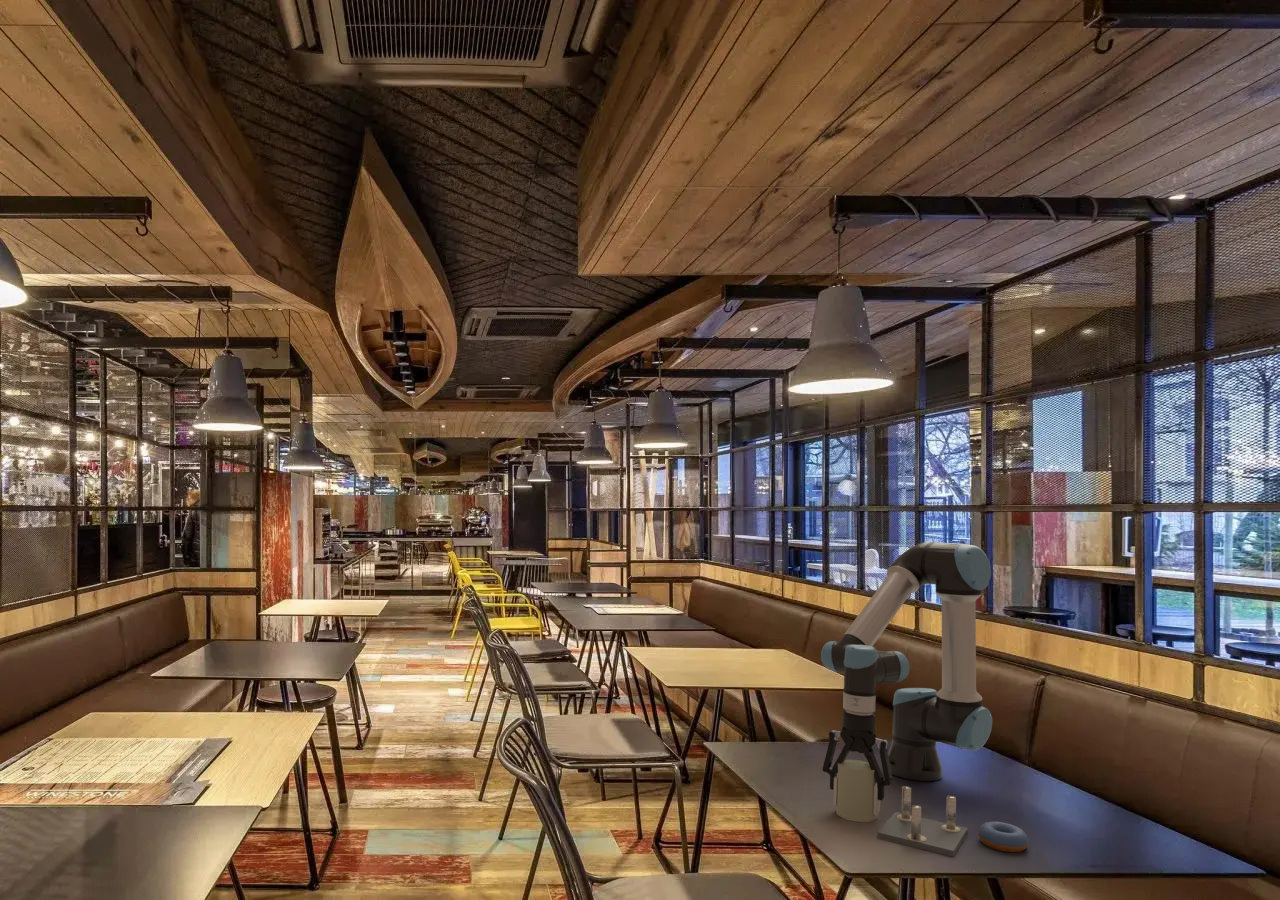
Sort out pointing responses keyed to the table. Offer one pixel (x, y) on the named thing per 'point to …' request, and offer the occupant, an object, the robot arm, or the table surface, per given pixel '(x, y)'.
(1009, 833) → the doughnut
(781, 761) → the table surface
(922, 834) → the board
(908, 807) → the pins
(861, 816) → the can
